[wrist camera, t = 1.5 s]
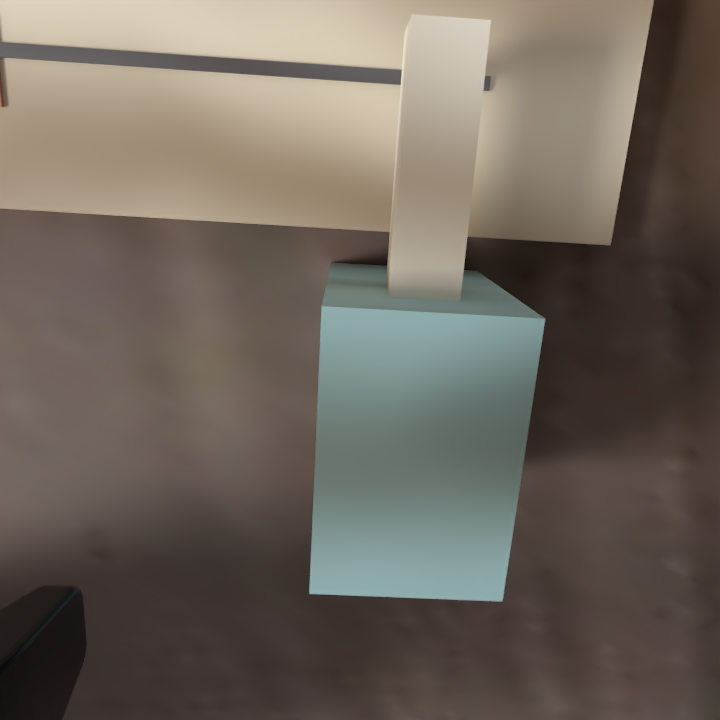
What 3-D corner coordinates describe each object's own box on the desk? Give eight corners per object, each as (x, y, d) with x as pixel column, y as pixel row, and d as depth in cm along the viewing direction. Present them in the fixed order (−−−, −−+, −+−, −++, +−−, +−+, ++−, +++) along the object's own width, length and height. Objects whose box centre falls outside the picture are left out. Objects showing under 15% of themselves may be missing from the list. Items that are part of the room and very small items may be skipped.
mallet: (453, 468, 18) (502, 601, 12) (321, 462, 18) (309, 594, 12) (499, 71, 15) (592, 4, 9) (340, 60, 15) (335, -15, 9)
